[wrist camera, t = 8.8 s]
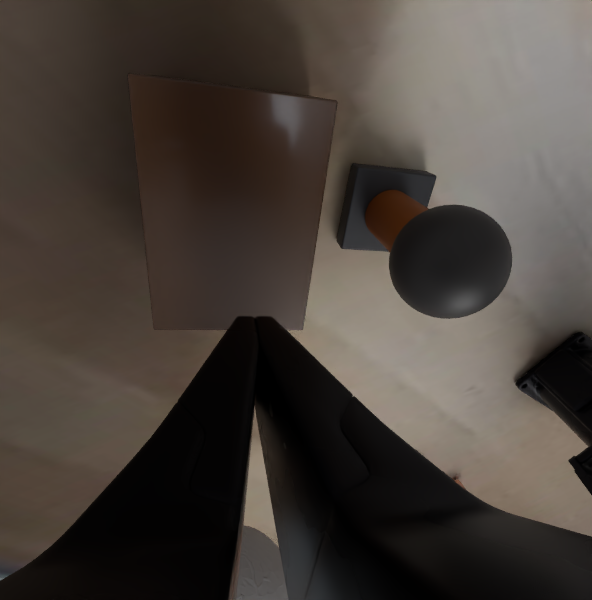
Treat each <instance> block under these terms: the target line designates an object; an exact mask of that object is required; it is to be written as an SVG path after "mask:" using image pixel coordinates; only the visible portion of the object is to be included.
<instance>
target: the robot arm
mask: <svg viewBox="0 0 592 600" xmlns="http://www.w3.org/2000/svg"><path fill="white" fill-rule="evenodd" d="M516 386H517V387H518V388H519V389H520V390H521V391H523V392H524V393H526V394H527V395H529V396H530V397H532V398H534V399H535V400H537V401H538V402H540V403H541V404H543V405H544V406H546V407H548V408H549V409H551V410H552V411H554V412H555V413H556V414H557V415H558V416H559V417H560V418H561V419H562V420H563V421H564V422H565V423H566V424H567V425H568V426H569V427H570V428H571V429H572V430H573V431H574V432H575V433H576V434H577V435H578V437H579V438H580V439H581V440H582V441H583V442H584V443H585V444H586V445H587V446H588V448H586V449H585V450H584V451H582V452H581V453H580V454H578V455H577V456H573V457H572V458H571V459H569V460H568V461H569V462H570V464H571V465H572V466H573V468H574V469H575V470H574V471H575V473H576V474H577V476H578V477H579V478H580V480H581V481H582V483H583V484H584V485H585V487H586V488H587V489H588V491H589V492H590V494H591V495H592V340H591V339H590V338H589V337H588V336H587V335H585V334H584V333H583V332H578V333H576V334H574V335H573V336H572V337H571V338H569V339H568V340H567V341H566V342H564V343H563V344H562V345H561V346H560V347H558V348H557V349H556V350H555V351H554V352H552V353H551V354H550V355H549V356H547V357H546V358H545V359H544V360H543V361H541V362H540V363H539V364H538V365H536V366H535V367H534V368H533V369H532V370H530V371H529V372H528V373H527V374H526V375H524V376H523V377H522V378H521V379H519V380H518V381H517V383H516ZM352 396H353V395H352V393H351V392H350V391H348V390H347V389H346V388H345V387H344V386H343V385H342V384H341V383H340V382H339V381H338V380H337V379H336V378H335V377H334V376H333V375H332V374H331V373H330V372H329V371H328V370H327V369H326V368H325V367H324V366H323V365H322V364H321V363H320V362H319V361H318V360H317V359H316V358H315V357H314V356H313V355H311V354H310V353H309V352H308V351H307V350H306V349H305V348H304V347H303V346H302V345H301V344H300V343H299V342H298V341H297V340H296V339H295V338H294V337H293V336H292V335H291V334H290V333H289V332H288V331H287V330H286V329H285V328H284V327H283V326H282V325H281V324H280V323H279V322H278V321H277V320H276V319H274V318H273V317H272V316H257V317H255V318H254V317H253V316H237V317H236V318H235V320H234V321H233V323H232V324H231V326H230V327H229V328H228V330H227V331H226V333H225V334H224V336H223V337H222V338H221V340H220V341H219V343H218V344H217V346H216V347H215V348H214V350H213V351H212V353H211V354H210V356H209V357H208V358H207V360H206V361H205V363H204V364H203V366H202V367H201V368H200V370H199V371H198V373H197V374H196V376H195V377H194V378H193V380H192V381H191V383H190V384H189V386H188V387H187V388H186V390H185V391H184V393H183V394H182V396H181V397H180V398H179V400H178V403H176V404H175V405H174V407H173V408H172V410H171V411H170V412H169V414H168V415H167V417H166V418H165V419H164V421H163V422H162V423H161V425H160V426H159V427H158V429H157V430H156V431H155V433H154V434H153V435H152V437H151V438H150V439H149V440H148V441H147V442H146V444H145V445H144V446H143V447H142V448H141V449H140V451H139V452H138V453H137V454H136V455H135V456H134V457H133V459H132V460H131V461H130V462H129V463H128V464H127V465H126V466H125V468H124V469H123V470H122V471H121V472H120V473H119V474H118V475H117V476H116V477H115V479H114V480H113V481H112V482H111V483H110V484H109V485H108V486H107V487H106V488H105V490H104V491H103V492H102V493H101V494H100V495H99V496H98V497H97V498H96V500H95V501H94V502H93V503H92V504H91V505H90V506H89V507H88V508H87V509H86V511H85V512H84V513H83V514H82V515H81V516H80V517H79V518H78V519H77V520H76V522H75V523H74V524H73V525H72V526H71V527H70V528H69V529H68V530H67V531H66V532H65V533H64V534H63V535H62V536H61V537H60V538H59V539H58V540H57V541H56V542H55V543H54V544H53V545H52V546H50V547H49V548H48V549H47V550H46V551H44V552H43V553H42V554H41V555H39V556H38V557H37V558H36V559H34V560H33V561H32V562H30V563H29V564H27V565H26V566H25V567H23V568H21V569H20V570H18V571H16V572H15V573H13V574H11V575H9V576H8V577H6V578H4V579H3V580H1V581H0V600H236V596H237V586H238V575H239V565H240V554H241V544H242V533H243V523H244V512H245V502H246V492H247V481H248V471H249V460H250V450H251V439H252V429H253V418H254V406H255V410H256V417H257V422H258V428H259V434H260V440H261V446H262V451H263V457H264V463H265V469H266V474H267V480H268V486H269V492H270V497H271V503H272V509H273V515H274V520H275V526H276V532H277V538H278V543H279V549H280V555H281V561H282V566H283V572H284V578H285V584H286V590H287V595H288V600H592V537H591V536H587V535H584V534H580V533H577V532H573V531H570V530H566V529H563V528H559V527H556V526H552V525H549V524H545V523H542V522H538V521H535V520H531V519H528V518H524V517H521V516H517V515H514V514H510V513H507V512H505V511H502V510H500V509H497V508H495V507H493V506H491V505H489V504H487V503H485V502H483V501H482V500H480V499H479V498H477V497H475V496H474V495H472V494H471V493H469V492H468V491H467V490H465V489H464V488H463V487H461V486H460V485H459V484H458V483H456V482H455V481H454V480H453V479H451V478H450V477H449V476H448V475H446V474H445V473H444V472H443V471H441V470H440V469H439V468H438V467H436V466H435V465H434V464H433V463H431V462H430V461H429V460H428V459H426V458H425V457H424V456H423V455H421V454H420V453H419V452H418V451H416V450H415V449H414V448H413V447H411V446H410V445H409V444H408V443H406V442H405V441H404V440H403V439H401V438H400V437H399V436H398V435H397V434H395V433H394V432H393V431H392V430H391V429H389V428H388V427H387V426H386V425H385V424H384V423H382V422H381V421H380V420H379V419H378V418H377V417H376V416H375V415H374V414H373V413H372V412H371V411H369V410H368V409H367V408H366V407H365V406H364V405H363V404H362V403H361V402H360V401H359V400H358V399H357V398H356V397H354V396H353V397H352Z"/></svg>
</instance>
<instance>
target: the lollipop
mask: <svg viewBox="0 0 592 600" xmlns="http://www.w3.org/2000/svg"><path fill="white" fill-rule="evenodd" d="M236 600H288V595H287V590H286V584H285V578H284V572H283V566H282V561H281V555H280V549H279V548H278V546H277V545H276V544H275V543H274V542H273V541H272V540H271V539H270V538H269V537H268V536H266V535H265V534H264V533H262V532H260V531H258V530H257V529H255V528H252V527H249V526H244V525H243V533H242V544H241V554H240V565H239V575H238V586H237V596H236Z"/></svg>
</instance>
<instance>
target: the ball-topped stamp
mask: <svg viewBox="0 0 592 600" xmlns="http://www.w3.org/2000/svg"><path fill="white" fill-rule="evenodd" d="M435 180H436V175H434V174H431V173H429V172H427V171H420V170H411V169H402V168H393V167H384V166H375V165H366V164H356V163H352V164H351V169H350V174H349V179H348V184H347V189H346V195H345V200H344V205H343V210H342V215H341V220H340V225H339V231H338V236H337V243H338V244H339V245H340V247H341V248H342V249H354V250H371V251H387V252H390V257H389V270H390V276H391V279H392V282H393V285H394V287H395V289H396V291H397V292H398V294H399V295H400V297H401V298H402V299H403V300H404V301H405V302H406V303H407V304H408V305H410V306H411V307H412V308H414V309H415V310H417V311H419V312H421V313H423V314H426V315H429V316H432V317H437V318H448V319H450V318H460V317H464V316H468V315H471V314H473V313H476V312H478V311H480V310H482V309H483V308H485V307H486V306H488V305H489V304H490V303H492V302H493V301H494V300H495V299H496V298H497V297H498V296H499V294H500V293H501V292H502V290H503V289H504V287H505V285H506V283H507V281H508V279H509V276H510V272H511V267H512V252H511V246H510V243H509V240H508V238H507V236H506V234H505V232H504V231H503V229H502V228H501V226H500V225H499V224H498V223H497V222H496V221H495V220H494V219H492V218H491V217H490V216H488V215H487V214H485V213H484V212H482V211H480V210H477V209H475V208H472V207H468V206H463V205H443V206H438V207H434V208H431V209H428V208H427V206H428V203H429V200H430V196H431V193H432V190H433V187H434V184H435Z"/></svg>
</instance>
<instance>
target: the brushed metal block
mask: <svg viewBox="0 0 592 600" xmlns="http://www.w3.org/2000/svg"><path fill="white" fill-rule="evenodd" d="M128 85H129V95H130V104H131V114H132V124H133V133H134V143H135V153H136V163H137V172H138V182H139V192H140V202H141V211H142V221H143V231H144V240H145V250H146V260H147V270H148V279H149V289H150V299H151V309H152V318H153V328H154V329H155V330H228V328H229V327H230V326H231V324H232V323H233V321H234V320H235V318H236V317H237V316H253V317H254V318H255V317H257V316H272V317H273V318H274V319H276V320H277V321H278V322H279V323H280V324H281V325H282V326H283V327H284V328H285V329H286V330H303V326H304V319H305V312H306V306H307V299H308V293H309V286H310V280H311V273H312V267H313V260H314V254H315V247H316V241H317V234H318V228H319V221H320V215H321V208H322V202H323V195H324V189H325V182H326V176H327V169H328V162H329V156H330V149H331V143H332V136H333V130H334V123H335V117H336V110H337V104H338V102H337V101H336V100H331V99H325V98H319V97H313V96H306V95H299V94H291V93H283V92H276V91H268V90H261V89H253V88H246V87H238V86H231V85H223V84H216V83H208V82H201V81H193V80H186V79H178V78H171V77H163V76H156V75H145V74H134V73H128Z"/></svg>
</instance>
